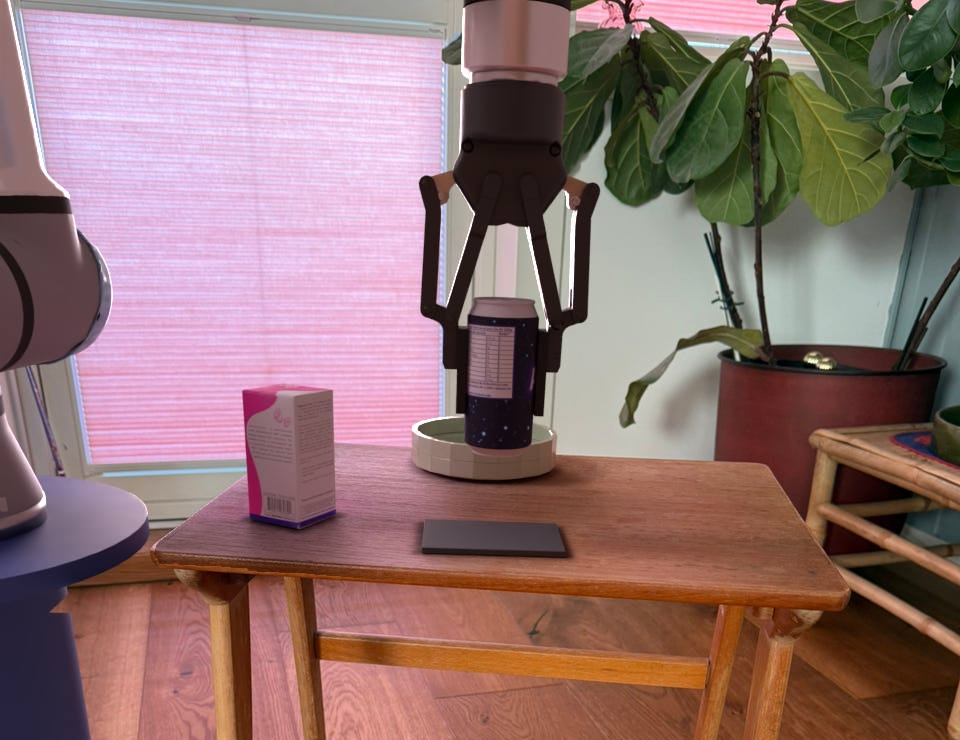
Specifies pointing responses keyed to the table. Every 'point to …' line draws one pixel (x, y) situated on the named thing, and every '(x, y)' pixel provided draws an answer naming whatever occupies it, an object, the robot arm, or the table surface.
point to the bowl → (449, 454)
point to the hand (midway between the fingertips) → (499, 411)
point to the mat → (492, 538)
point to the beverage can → (500, 375)
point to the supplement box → (290, 454)
